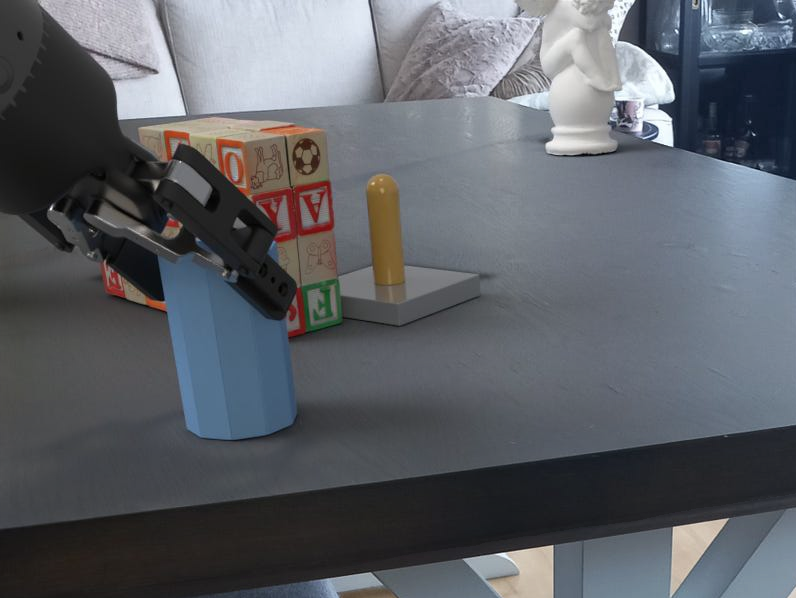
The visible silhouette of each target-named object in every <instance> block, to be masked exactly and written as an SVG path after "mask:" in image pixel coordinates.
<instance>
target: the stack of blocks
mask: <svg viewBox="0 0 796 598" xmlns="http://www.w3.org/2000/svg"><path fill="white" fill-rule="evenodd" d="M138 137H139V143H140V144H142V145H144V146H146V147H147V148H149V149H151V150H152V151H154V152H155V153H156V154H157V156H158V158H159V160H160V161H161V162H170V161H171V159H172V157H173V155H174V153H175V151H176V149H177V147H178V145H179V144H186V145H189V146H191V147H193V148H195V149H196V150H198V151H199V152H200V153H201V154H202V155H203V156H204V157H205V158H206V159H208V160H209V161H210V162H211V163H212V164H213V165H214V166H215V167H216V168H217V169H218V170H219V171H220V172H221V173H222V174H223V175H224V176H225V177H226V178H227V179H229V180H230V181H231V182H232V183H233V184H234V185H235V186H236V187H237V188H238V189H239V190H240V191H241V192H242V193H243V194H244V195H245V196H246V197H247V198H248V199H249V200H251V201H252V202H253V203H254V204H255V205H256V206H257V207H258V208H259V209H260V210H261V211H262V212H263V213H264V214H265V215H266V216H267V217H268V218H269V219H270V220H271V221H273V222H274V223H275V224H276V225H277V227H278V229H279V230H278V232H277V235H276V237H275V239H274V241H276V243H277V251H278V259H279V265H280V266H281V267H282V268H283V269H284V270H285V271H286V272H287V273H288V274H289V275H290V276H291V277H292V278H293V279H294V280H295V281H296V284H297V292H296V295H295V297H294V299H293V301H292V303H291V305H290V308H289V310H288V312H287V314H286V324H287V332H288V339H289V338H293V337H296V336H300V335H303V334H306V333H309V332H313V331H317V330H321V329H325V328H328V327H331V326H336V325H339V324H342V323H343V317H342V309H341V294H340V282H339V278H338V277H339V276H338V260H337V247H336V237H335V235H336V234H335V212H334V203H333V201H334V200H333V199H334V198H333V195H332V194H333V190H332V189H333V188H332V182H331V176H330V162H329V150H328V136H327V129H323V128H314V127H313V128H312V127H306V126H297V125H296V124H295V123H294V122H288V121H287V122H286V121H277V120H268V119H267V120H250V119H237V118H228V117H218V116H213V117H212V116H210V117H205V118H204V117H203V118H198V119H191V120H184V121H178V122H177V121H176V122H170V123H163V124H156V125H155V124H154V125H148V126H147V125H146V126H140V127H138ZM239 220H240V219H239ZM182 226H183V225H182V224H181V223H180V222H179V221H178V220H177V221H174V220H172V219H170V218H169V220H168V222H167V224H166V226H165V229H164V231H163V232H162V233H161V235H162V236H164V237H167V238H173V237H175V236H177V235H178V233H179V232H180V230H181V228H182ZM196 239H198V238H197V237H196ZM106 261H107V260H105V261H104V263H99V264H100V271H101V276H102V280H103V286H104V289H105V290H104V291H105V293H107V294H110V295H114V296H118V297H120V298H124V299H126V300H128V301H131V302H135V303H138V304H141V305H145V306H149V307H150V308H153V309H157V310H160V311H164V312H166V313H167V308H166V303H165V301H163V302H160V301H154V300H150V299H149V298H148V297H146V296H145V295H144V294H143V293H141V292H140V291H139V290H138V289H137V288H135V287H134V286H133V285H132V284H130V283H129V282H128V281H127V280H125V279H124V278H123V277H122V276H121V275H119V274H118V273H117V272H116V271H114V270H113V269H112V268H111V267H109V266H108V265H107V264H106Z"/></svg>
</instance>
